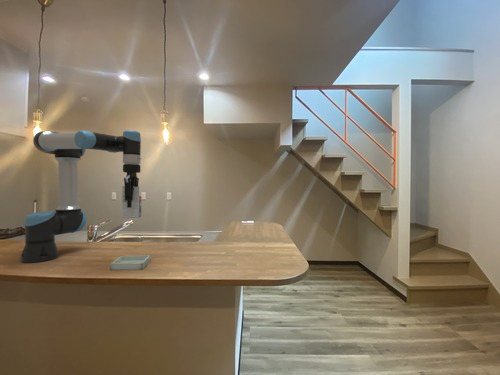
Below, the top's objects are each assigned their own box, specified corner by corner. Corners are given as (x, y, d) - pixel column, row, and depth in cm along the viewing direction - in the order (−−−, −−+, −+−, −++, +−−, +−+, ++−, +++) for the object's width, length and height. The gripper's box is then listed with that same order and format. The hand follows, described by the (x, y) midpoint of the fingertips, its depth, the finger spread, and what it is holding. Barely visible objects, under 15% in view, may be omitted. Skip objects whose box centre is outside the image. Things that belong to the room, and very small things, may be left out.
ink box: (124, 216, 126) (124, 186, 126) (141, 216, 127) (141, 186, 127) (121, 217, 123) (121, 186, 122) (139, 217, 123) (139, 186, 123)
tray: (110, 270, 118) (110, 263, 118) (121, 261, 131) (121, 255, 131) (142, 269, 120) (142, 263, 120) (150, 260, 133) (150, 255, 133)
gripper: (134, 163, 116) (133, 216, 117) (145, 165, 133) (145, 211, 134) (116, 162, 116) (116, 216, 116) (129, 164, 132) (129, 211, 133)
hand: (131, 213), depth 125 cm, fingers closed on ink box, 4 cm apart
